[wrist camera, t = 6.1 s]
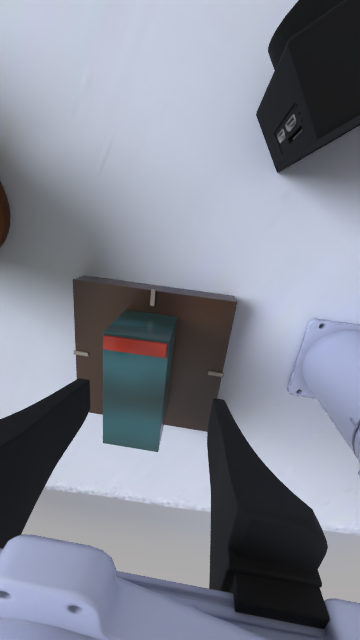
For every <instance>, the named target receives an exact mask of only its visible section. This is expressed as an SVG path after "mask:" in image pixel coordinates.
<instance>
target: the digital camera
mask: <svg viewBox="0 0 360 640" xmlns="http://www.w3.org/2000/svg"><path fill="white" fill-rule="evenodd" d="M268 53H269V55H270V58H271V61H272V64H273V67H274V70H275V72H274V74H273V76H272V78H271V81H270V83H269V85H268V88H267V90H266V92H265V94H264V97H263V99H262V101H261V104H260V106H259V108H258V111H257V114H256V115H257V118H258V121H259V124H260V126H261V129H262V132H263V135H264V138H265V140H266V143H267V146H268V149H269V151H270V154H271V157H272V160H273V162H274V165H275V168H276V171H277V173H278V172H280V171H282V170H283V169H285V168H287V167H289V166H290V165H292V164H294V163H295V162H297V161H299V160H301V159H302V158H304V157H306V156H308V155H309V154H311V153H313V152H315V151H316V150H318V149H320V148H321V147H323V146H325V145H327V144H328V143H330V142H332V141H334V140H335V139H337V138H339V137H341V136H342V135H344V134H346V133H347V132H349V131H351V130H353V129H354V128H356V127H358V126H360V0H299V1H298V2H297V3H296V4H295V5H294V7H293V8H292V9H291V10H290V11H289V13H288V14H287V15H286V16H285V18H284V19H283V21H282V22H281V24H280V25H279V27H278V28H277V30H276V31H275V33H274V35H273V37H272V39H271V41H270V44H269V47H268Z"/></svg>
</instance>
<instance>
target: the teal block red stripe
mask: <svg viewBox="0 0 360 640" xmlns="http://www.w3.org/2000/svg"><path fill="white" fill-rule="evenodd" d="M176 326H177V317H175V316H167V315H160V314H153V313H145V312H138V311H131V310H125V311H124V312H123V313H122V314H121V315H120V316H119V317H118V318H117V319H116V320H115V321H113V322H112V323H111V324H110V325H109V326H108V327H107V328H106V329H105V330H104V331H103V443H106V444H112V445H119V446H125V447H131V448H137V449H143V450H149V451H155V452H158V450H159V445H160V441H161V436H162V431H163V426H164V421H165V417H166V412H167V405H168V396H169V387H170V379H171V370H172V361H173V352H174V344H175V335H176Z"/></svg>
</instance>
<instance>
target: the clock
mask: <svg viewBox="0 0 360 640" xmlns="http://www.w3.org/2000/svg"><path fill="white" fill-rule="evenodd" d="M73 293H74V319H75V344H76V350H74V354H75V355H76V369H77V379H79V378H82V379H88V380H90V410H89V412H90V413H97V414H103V331H104V330H105V329H106V328H107V327H108V326H109V325H110V324H111V323H112V322H113V321H115V320H116V319H117V318H118V317H119V316H120V315H121V314H122V313H123V312H124V311H125V310H131V311H138V312H145V313H153V314H160V315H167V316H175V317H177V326H176V335H175V344H174V352H173V361H172V370H171V379H170V387H169V396H168V405H167V412H166V417H165V421H164V425H170V426H176V427H182V428H188V429H194V430H200V431H207V432H208V423H209V418H210V412H211V407H212V402H213V398H214V399H217V396H218V391H219V386H220V381H221V377H223V374H224V373H222V372H223V367H224V362H225V357H226V353H227V348H228V343H229V338H230V333H231V329H232V324H233V319H234V314H235V309H236V305H237V301H236V299H235V297H234V296H229V295H222V294H215V293H207V292H200V291H193V290H185V289H178V288H171V287H163V286H156V285H149V284H141V283H134V282H127V281H119V280H112V279H105V278H97V277H90V276H82V277H79V278H76V279H73Z"/></svg>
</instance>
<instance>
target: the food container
mask: <svg viewBox="0 0 360 640" xmlns="http://www.w3.org/2000/svg"><path fill="white" fill-rule="evenodd" d="M9 226H10V211H9V205H8V201H7V197H6V194H5V191H4V189H3V186H2V185H1V183H0V246H2V244H3V242H4V241H5V239H6V237H7V234H8V231H9Z"/></svg>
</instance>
